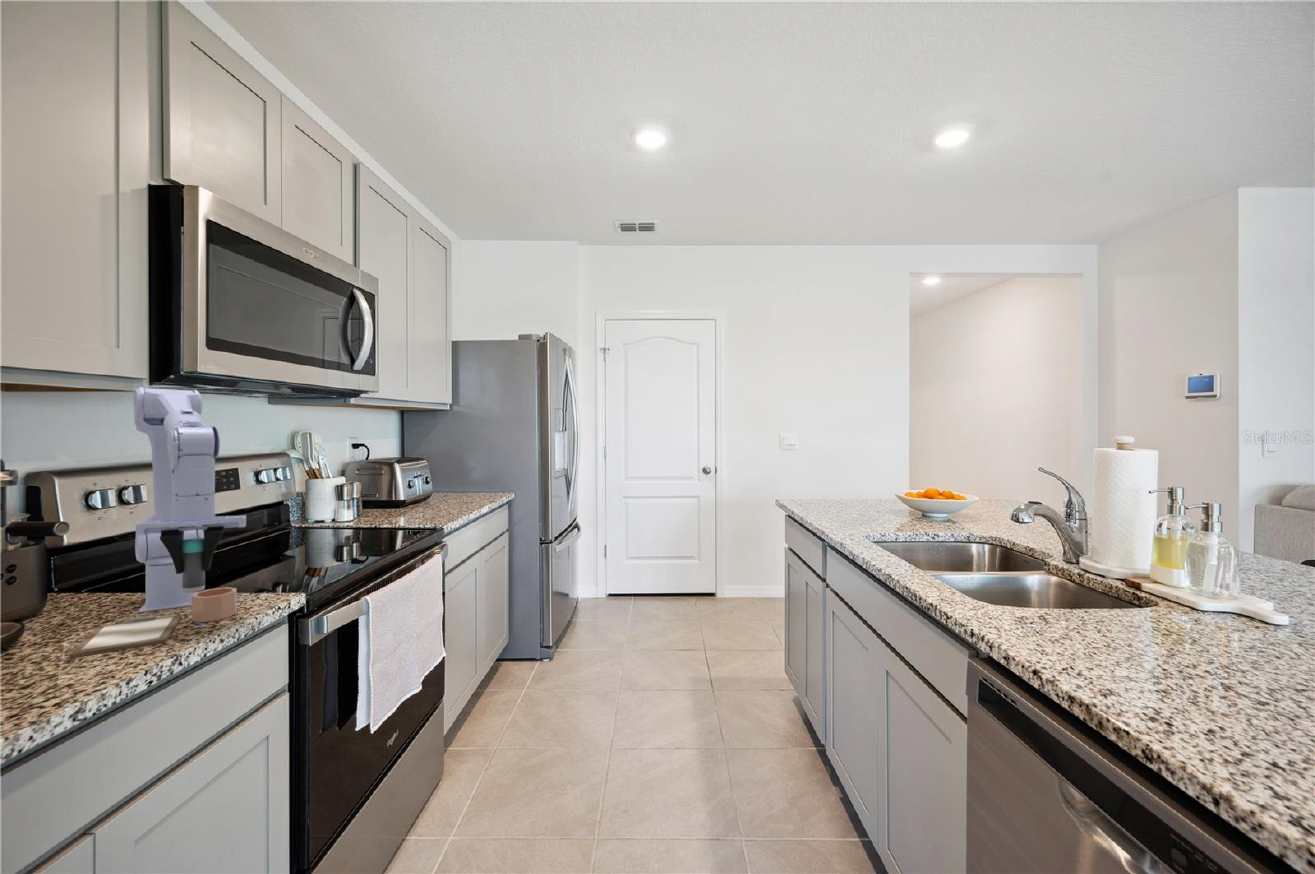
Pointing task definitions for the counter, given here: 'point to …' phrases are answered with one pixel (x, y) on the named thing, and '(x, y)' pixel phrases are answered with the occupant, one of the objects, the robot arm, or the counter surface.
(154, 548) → the robot arm
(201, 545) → the marker
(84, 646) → the picture frame
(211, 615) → the terracotta pot
